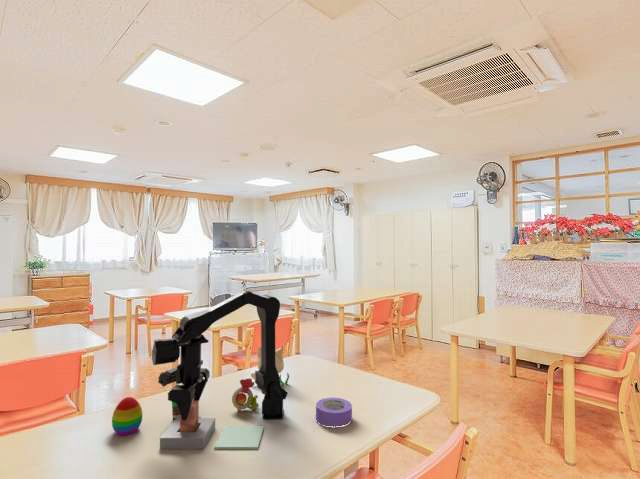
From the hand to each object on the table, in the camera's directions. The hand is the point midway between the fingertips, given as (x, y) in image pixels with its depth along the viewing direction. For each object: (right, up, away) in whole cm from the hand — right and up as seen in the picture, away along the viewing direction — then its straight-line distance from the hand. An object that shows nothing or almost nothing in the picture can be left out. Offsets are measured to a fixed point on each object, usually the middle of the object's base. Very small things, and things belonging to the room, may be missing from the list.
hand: (189, 412), depth 107 cm
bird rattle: (+13, -8, +19) cm, 24 cm away
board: (+15, -7, 0) cm, 17 cm away
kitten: (+18, -9, +44) cm, 48 cm away
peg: (0, -7, 0) cm, 7 cm away
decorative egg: (-20, -7, +3) cm, 22 cm away
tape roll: (+43, -8, +12) cm, 45 cm away
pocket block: (0, -7, 0) cm, 7 cm away
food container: (-5, -8, +15) cm, 17 cm away
